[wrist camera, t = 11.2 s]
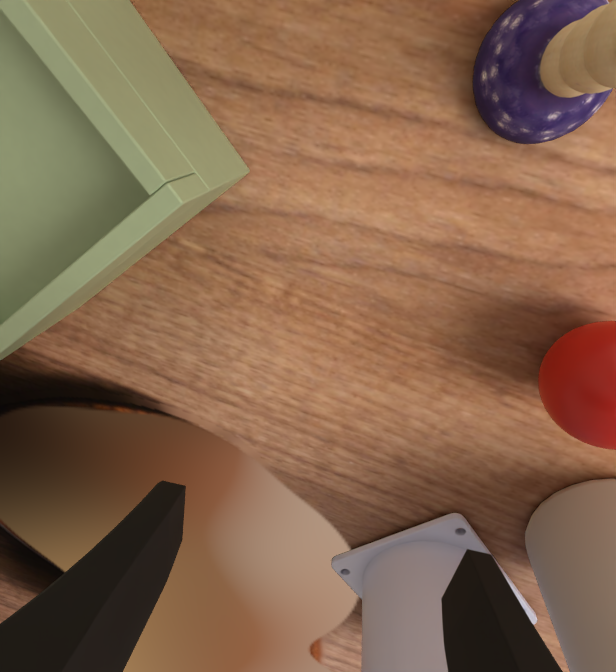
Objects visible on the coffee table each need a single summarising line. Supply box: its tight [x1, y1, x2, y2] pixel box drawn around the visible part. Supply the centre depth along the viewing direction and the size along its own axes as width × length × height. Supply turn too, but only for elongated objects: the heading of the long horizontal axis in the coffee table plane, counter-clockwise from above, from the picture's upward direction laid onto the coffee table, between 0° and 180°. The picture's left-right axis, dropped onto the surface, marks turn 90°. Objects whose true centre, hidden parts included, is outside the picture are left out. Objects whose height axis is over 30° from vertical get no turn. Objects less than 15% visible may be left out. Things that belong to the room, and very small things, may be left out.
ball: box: [538, 321, 616, 450], centre depth 16 cm, size 5×5×5 cm
